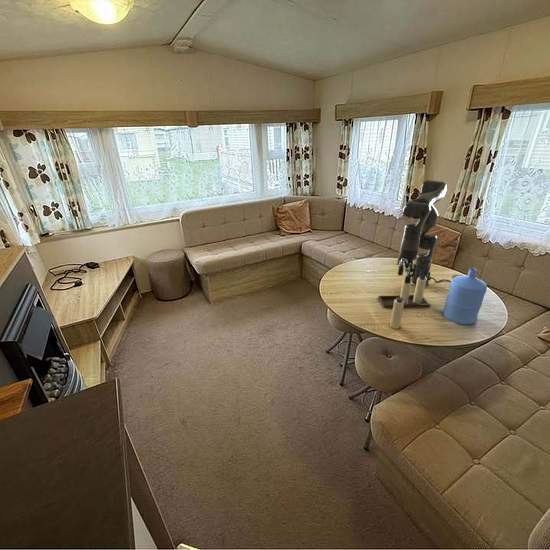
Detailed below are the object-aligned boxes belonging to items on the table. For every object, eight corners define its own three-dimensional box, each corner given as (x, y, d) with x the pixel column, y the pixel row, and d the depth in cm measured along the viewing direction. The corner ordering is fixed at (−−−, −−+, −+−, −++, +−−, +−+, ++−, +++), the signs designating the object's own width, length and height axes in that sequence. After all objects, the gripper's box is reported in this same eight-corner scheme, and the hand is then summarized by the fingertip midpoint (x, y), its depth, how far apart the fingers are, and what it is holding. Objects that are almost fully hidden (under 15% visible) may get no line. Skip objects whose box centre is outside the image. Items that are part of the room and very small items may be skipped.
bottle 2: (419, 299, 175) (424, 274, 167) (422, 303, 171) (428, 278, 163) (411, 299, 175) (416, 274, 167) (414, 304, 171) (420, 278, 163)
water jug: (475, 328, 150) (492, 279, 137) (440, 319, 157) (453, 272, 145) (476, 313, 161) (491, 266, 149) (443, 306, 169) (456, 260, 157)
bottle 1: (405, 300, 175) (410, 274, 167) (408, 304, 171) (414, 278, 163) (397, 300, 175) (402, 275, 167) (400, 304, 171) (405, 278, 163)
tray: (421, 297, 178) (421, 294, 177) (429, 307, 168) (430, 304, 167) (378, 298, 178) (378, 295, 177) (384, 308, 168) (384, 305, 167)
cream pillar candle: (397, 323, 155) (402, 296, 148) (400, 328, 151) (406, 300, 144) (388, 323, 155) (393, 296, 148) (391, 328, 151) (396, 301, 144)
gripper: (425, 252, 128) (417, 285, 135) (411, 241, 140) (405, 272, 148) (407, 253, 128) (401, 286, 135) (395, 241, 140) (390, 272, 148)
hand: (403, 278), depth 141 cm, fingers open, 8 cm apart
